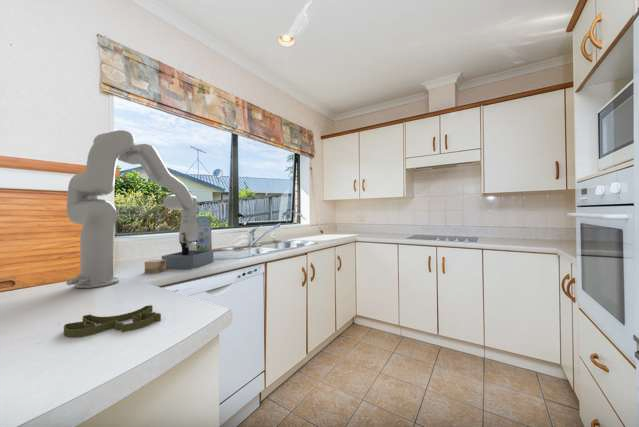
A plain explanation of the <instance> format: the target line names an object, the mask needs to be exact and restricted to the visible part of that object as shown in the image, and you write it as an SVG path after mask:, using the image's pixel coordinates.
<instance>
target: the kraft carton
mask: <svg viewBox="0 0 639 427" xmlns="http://www.w3.org/2000/svg"><path fill="white" fill-rule="evenodd" d="M166 270H167V268H166V260H162V259H151V260H148V261H144V273H145V274H148V273H149V274H158V273H162V272H164V271H166Z"/></svg>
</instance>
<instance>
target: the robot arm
mask: <svg viewBox="0 0 639 427" xmlns="http://www.w3.org/2000/svg"><path fill="white" fill-rule="evenodd" d="M118 161H120V162H123V163H126V164H129V165H130V164H131V165H140V166H141V168H142V169H143V170H144V172H145V173H146V175H147V177H148V178H149V180H150V181H151V182H152V183H154V184H156V185H159V186H160V187H164V188H165V189H167V190H168V191H170V192H171V193H172V194H170V195H167V196H165V197H164V199H162V200H163V201H162V202H163V203H162V204H163V206H164V207H165V208H166V209H168V210H169V211H178V210H179V211H180V225H179V233H178V234H179V235H178V242H179V244H180V247H181V251H182V255H189V247H188V243H189V242H196V245H197V241H198V229H197V216H198V198H197V197H196V196H194V195H192V194H191V193H190V190H189V189H188V187H187V186H186V185H185V184H184V183H183V182H182V181H181V180H179V178H177V177H176V176H174V175H173V174H171V173H170V171H169V170H168V168H167V166H166V164H165V163H164V161H163V159H162V157H161V156H160V154H159V153H158V151H157V149H156V148H155V147H154V146H153V145H152V144H149V143H139V144H136V140H135V136H134V135H133V133H131V132H130V131H127V130H123V129H122V130H121V129H120V130H119V129H118V130H114V131H109V132H104V133H100V134H98V135H96V136H95V137H94V139H93V144H92V145H91V147H90V149H89V152H88V155H87V160H86V166H85V171H81V172H77V173H76V174H74V175H72V177H71V178H70V180H69V183H68V187H67V188H68V189H67V198H66V215H67V217H68V219H69V221H71V222H72V223H74V224H77V225H82V228H81V231H80V236H79V237H80V240H79V241H80V242H79V243H80V252H79V253H80V265H79V266H80V269H79V270H80V273H79V274H77V276H76V277H75V278H71V279H67V281H66V286H73V285H74V288H76V289H93V288H99V287H106V286H110V285H113V284H116V283H118V282H119V280H120V279H119V277H115V276H114V275H115V274H114V271H115V270H114V268H115V267H114V266H115V265H114V260H115V258H114V256H115V255H114V252H115V251H114V249H115V248H114V246H115V245H114V244H115V243H114V240H115V239H114V237H115V236H114V234H115V233H114V232H115V231H114V230H115V224H116V220H117V214H118V213H117V212H118V211H117V209H116V207H115V205H114V204H113V203H112V202H110V201H109V200H106V199H101V198H98V197H102V196H107V195H110V194H111V193H112V192H114V189H115V183H116V168H117V166H116V165H117V163H118ZM185 243H186V244H185Z"/></svg>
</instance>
